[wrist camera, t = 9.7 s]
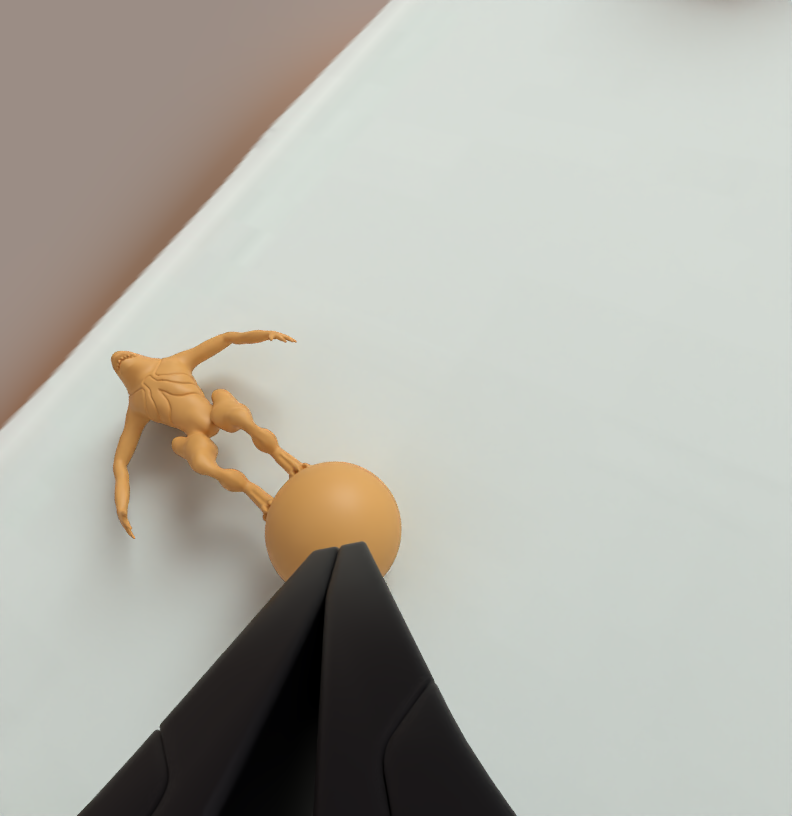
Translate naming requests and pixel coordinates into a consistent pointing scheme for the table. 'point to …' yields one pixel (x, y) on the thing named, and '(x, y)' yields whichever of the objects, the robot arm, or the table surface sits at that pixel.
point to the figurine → (308, 484)
